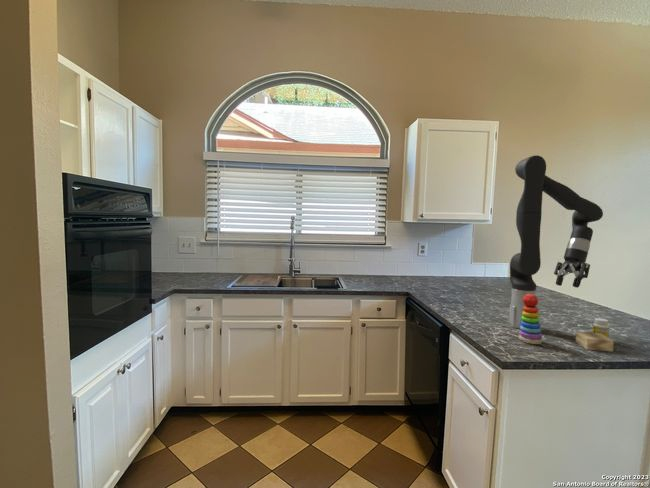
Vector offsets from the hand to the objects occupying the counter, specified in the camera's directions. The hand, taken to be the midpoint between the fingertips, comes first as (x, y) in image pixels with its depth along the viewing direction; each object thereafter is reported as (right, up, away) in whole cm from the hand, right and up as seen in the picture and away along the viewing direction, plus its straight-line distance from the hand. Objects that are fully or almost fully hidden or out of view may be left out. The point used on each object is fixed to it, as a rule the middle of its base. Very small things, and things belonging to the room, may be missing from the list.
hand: (566, 286), depth 133 cm
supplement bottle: (+7, -21, -9) cm, 23 cm away
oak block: (-1, -21, -15) cm, 26 cm away
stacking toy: (-22, -21, -9) cm, 31 cm away
